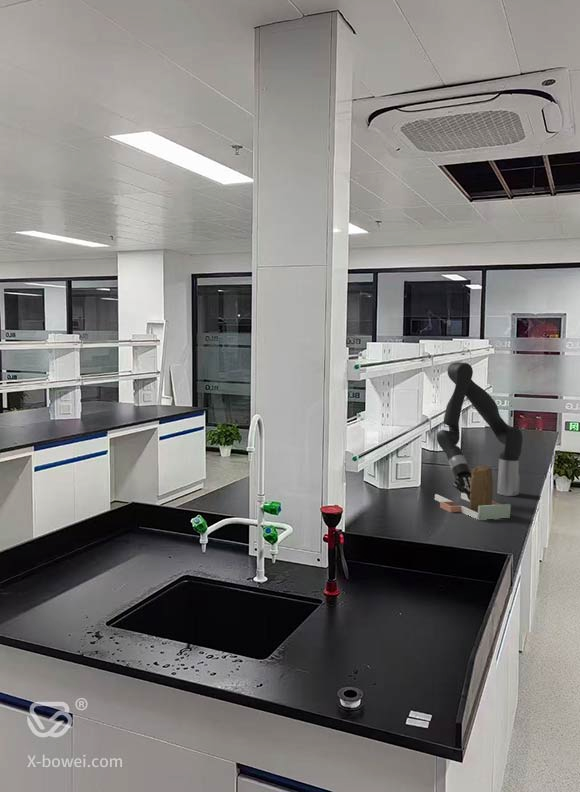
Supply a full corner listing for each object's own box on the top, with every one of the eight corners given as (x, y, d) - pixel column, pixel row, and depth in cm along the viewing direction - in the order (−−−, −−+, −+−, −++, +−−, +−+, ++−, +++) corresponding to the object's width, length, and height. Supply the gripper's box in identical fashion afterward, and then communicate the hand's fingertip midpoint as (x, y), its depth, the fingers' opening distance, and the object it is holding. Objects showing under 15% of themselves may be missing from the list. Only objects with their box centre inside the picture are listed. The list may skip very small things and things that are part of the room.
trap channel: (472, 497, 319) (472, 485, 318) (519, 517, 284) (520, 503, 283) (425, 500, 311) (425, 487, 311) (468, 521, 277) (469, 506, 276)
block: (484, 516, 285) (486, 469, 283) (467, 513, 290) (469, 467, 288) (493, 511, 294) (496, 466, 292) (477, 508, 298) (479, 464, 296)
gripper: (450, 463, 301) (463, 496, 290) (475, 462, 305) (489, 495, 294) (443, 472, 306) (456, 505, 296) (468, 471, 310) (482, 503, 300)
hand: (472, 500), depth 295 cm, fingers closed
